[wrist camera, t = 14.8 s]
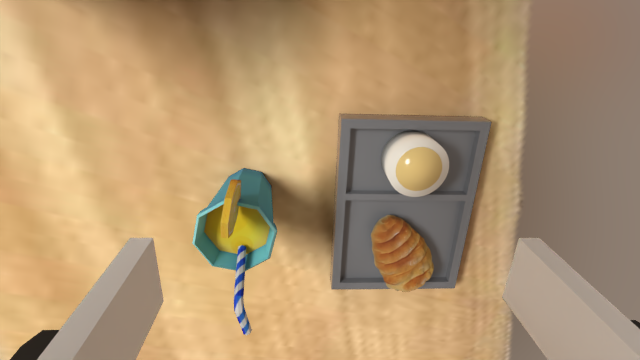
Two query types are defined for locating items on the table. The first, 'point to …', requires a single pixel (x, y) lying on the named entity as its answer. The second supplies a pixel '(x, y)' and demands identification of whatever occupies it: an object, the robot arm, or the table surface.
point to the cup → (238, 230)
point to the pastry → (401, 254)
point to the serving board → (385, 200)
